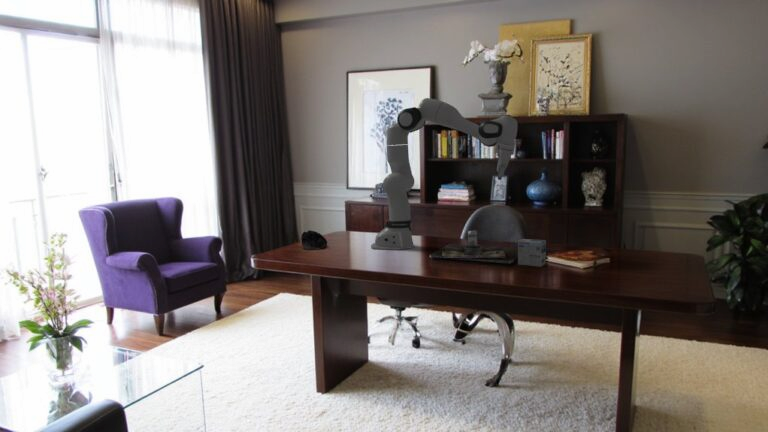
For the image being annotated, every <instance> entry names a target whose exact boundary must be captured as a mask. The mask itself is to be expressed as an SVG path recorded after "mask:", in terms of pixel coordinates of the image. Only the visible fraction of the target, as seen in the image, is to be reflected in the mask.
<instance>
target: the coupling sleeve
mask: <svg viewBox="0 0 768 432" xmlns="http://www.w3.org/2000/svg"><path fill="white" fill-rule="evenodd" d="M467 245H478V231H477V230H474V229H473V230H467Z"/></svg>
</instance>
